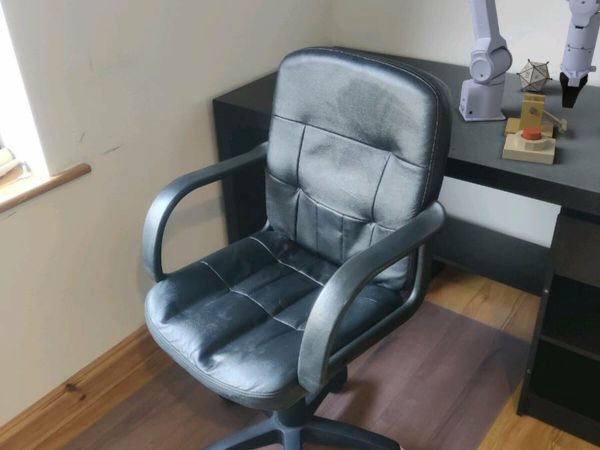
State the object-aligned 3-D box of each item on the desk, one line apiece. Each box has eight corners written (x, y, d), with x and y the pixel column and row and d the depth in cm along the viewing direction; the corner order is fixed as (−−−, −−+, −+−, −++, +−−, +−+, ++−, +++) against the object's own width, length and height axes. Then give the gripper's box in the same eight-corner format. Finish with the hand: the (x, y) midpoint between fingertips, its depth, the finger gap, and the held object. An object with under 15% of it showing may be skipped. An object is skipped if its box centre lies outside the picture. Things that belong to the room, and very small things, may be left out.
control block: (554, 148, 134) (557, 131, 132) (552, 164, 128) (555, 147, 125) (506, 142, 137) (508, 125, 135) (502, 158, 131) (504, 141, 129)
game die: (535, 103, 164) (564, 73, 160) (529, 102, 157) (559, 71, 153) (511, 81, 167) (539, 51, 162) (503, 79, 160) (532, 48, 155)
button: (540, 135, 131) (542, 127, 130) (539, 142, 128) (541, 134, 127) (522, 133, 132) (524, 125, 131) (521, 140, 130) (522, 132, 129)
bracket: (552, 127, 143) (559, 94, 139) (551, 141, 137) (557, 107, 132) (508, 122, 146) (512, 89, 142) (504, 135, 140) (509, 102, 136)
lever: (561, 126, 141) (569, 118, 139) (560, 136, 137) (568, 128, 135) (525, 102, 141) (532, 93, 139) (523, 111, 137) (530, 102, 135)
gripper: (601, 57, 121) (586, 121, 129) (601, 36, 132) (587, 96, 140) (563, 54, 123) (550, 117, 131) (565, 34, 135) (554, 93, 142)
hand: (567, 106), depth 135 cm, fingers closed
